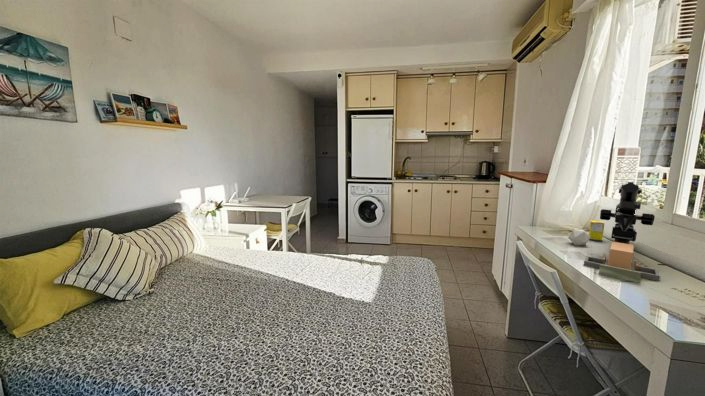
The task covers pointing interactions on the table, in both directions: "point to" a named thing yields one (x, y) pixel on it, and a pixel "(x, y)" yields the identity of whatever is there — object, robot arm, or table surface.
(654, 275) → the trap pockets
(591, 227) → the supplement box
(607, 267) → the small wooden bench
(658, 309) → the table surface
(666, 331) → the table surface
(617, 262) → the orange tan rectangular block
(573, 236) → the die
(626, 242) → the robot arm
